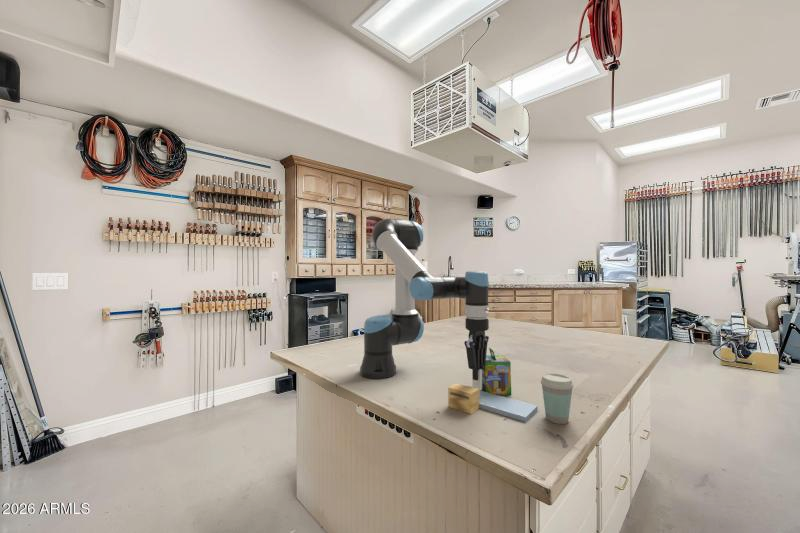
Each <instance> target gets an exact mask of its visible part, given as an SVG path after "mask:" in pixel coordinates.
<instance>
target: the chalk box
mask: <svg viewBox="0 0 800 533" xmlns="http://www.w3.org/2000/svg"><path fill="white" fill-rule="evenodd" d="M488 350H489V354H488V355H487V354H486V363H485V366H484V365H483V367H485V369H482V390H481V391H484V392H487V393H491V394H495V395H499V396H501V395H504V396H509V395H510V396H511V395H512V373H511V372H512V371H511V370H512V369H511V366H512V365H511V361H510V360H509V359H508V358H506V357H505V356H504V355H495V352H494V349H492V348H491V347H488Z"/></svg>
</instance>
